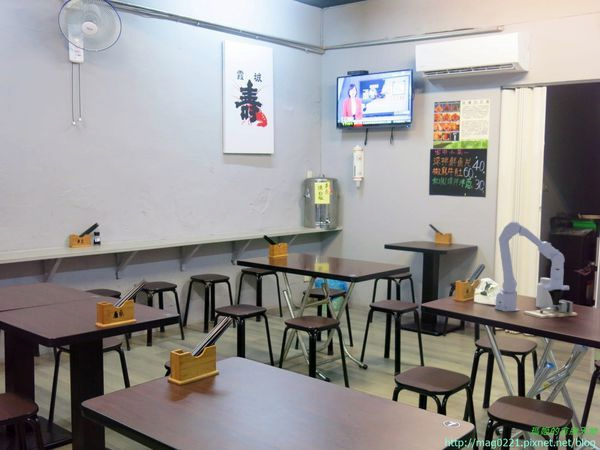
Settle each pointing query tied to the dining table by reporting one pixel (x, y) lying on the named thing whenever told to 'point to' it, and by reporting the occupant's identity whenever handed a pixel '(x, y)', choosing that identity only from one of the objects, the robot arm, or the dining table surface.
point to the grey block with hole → (560, 307)
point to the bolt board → (550, 313)
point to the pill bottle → (543, 294)
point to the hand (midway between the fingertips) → (555, 305)
